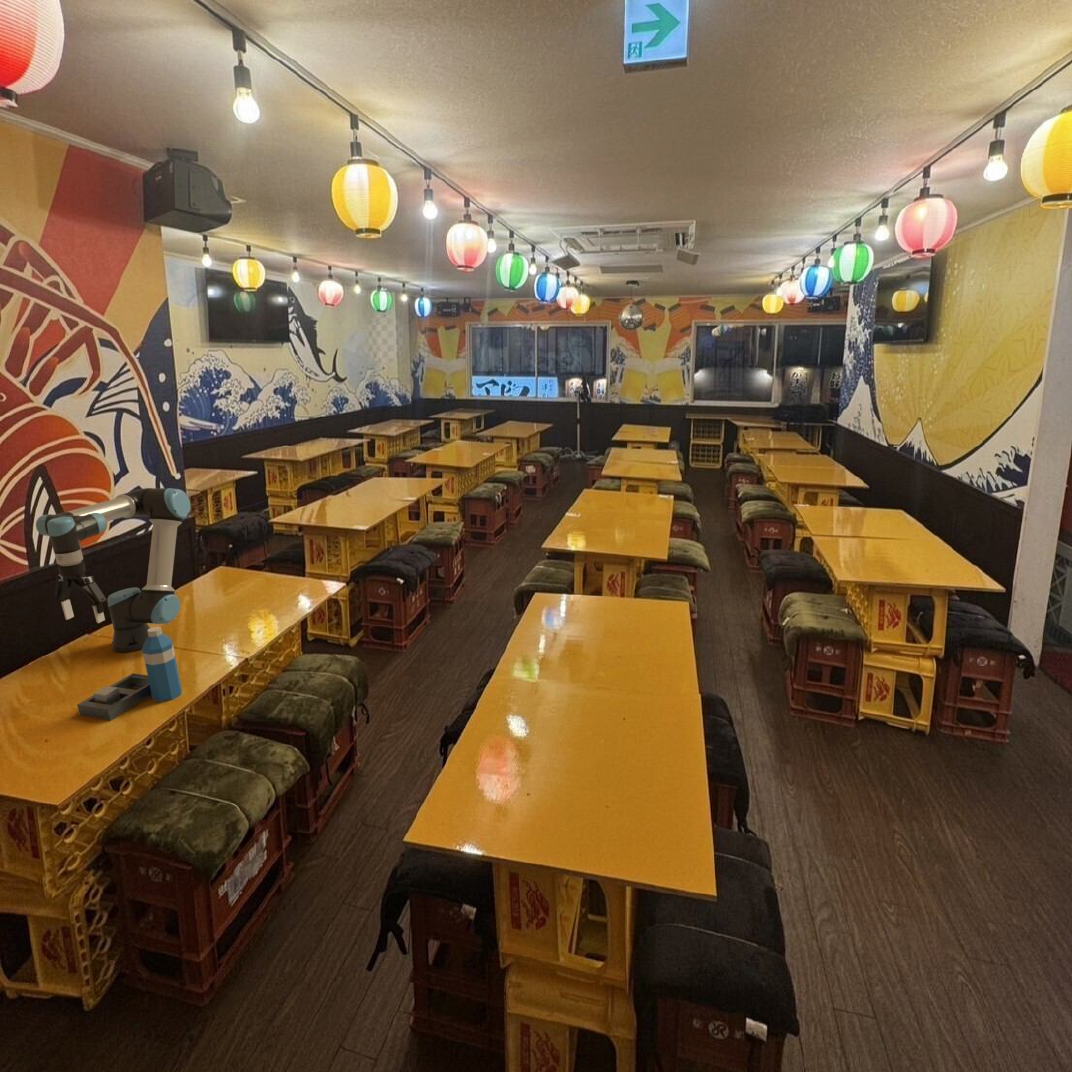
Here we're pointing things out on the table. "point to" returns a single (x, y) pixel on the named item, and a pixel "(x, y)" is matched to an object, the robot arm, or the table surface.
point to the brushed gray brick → (107, 695)
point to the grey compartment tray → (126, 702)
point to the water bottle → (161, 666)
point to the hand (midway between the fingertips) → (85, 619)
